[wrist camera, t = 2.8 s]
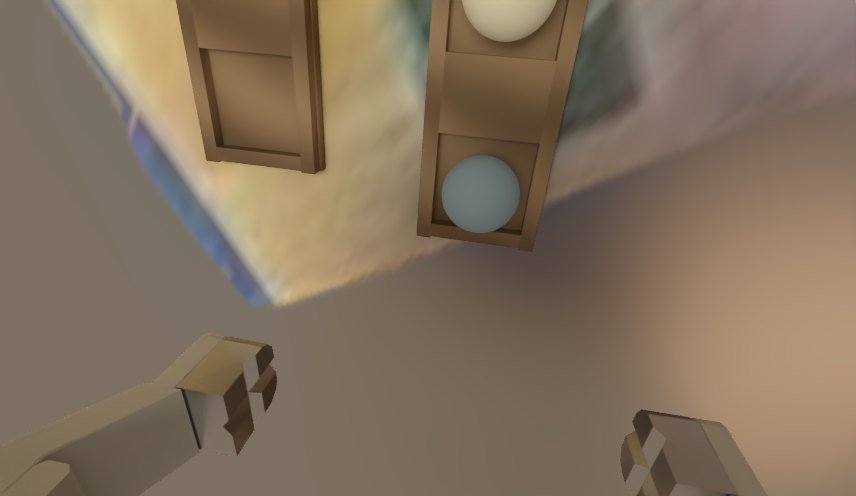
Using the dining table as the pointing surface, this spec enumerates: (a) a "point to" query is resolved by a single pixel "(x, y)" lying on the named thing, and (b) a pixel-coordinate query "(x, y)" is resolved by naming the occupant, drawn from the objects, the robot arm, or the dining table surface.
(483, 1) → the ivory ball
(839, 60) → the dining table surface
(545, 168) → the rack
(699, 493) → the robot arm
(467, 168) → the ball blue
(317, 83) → the tray
